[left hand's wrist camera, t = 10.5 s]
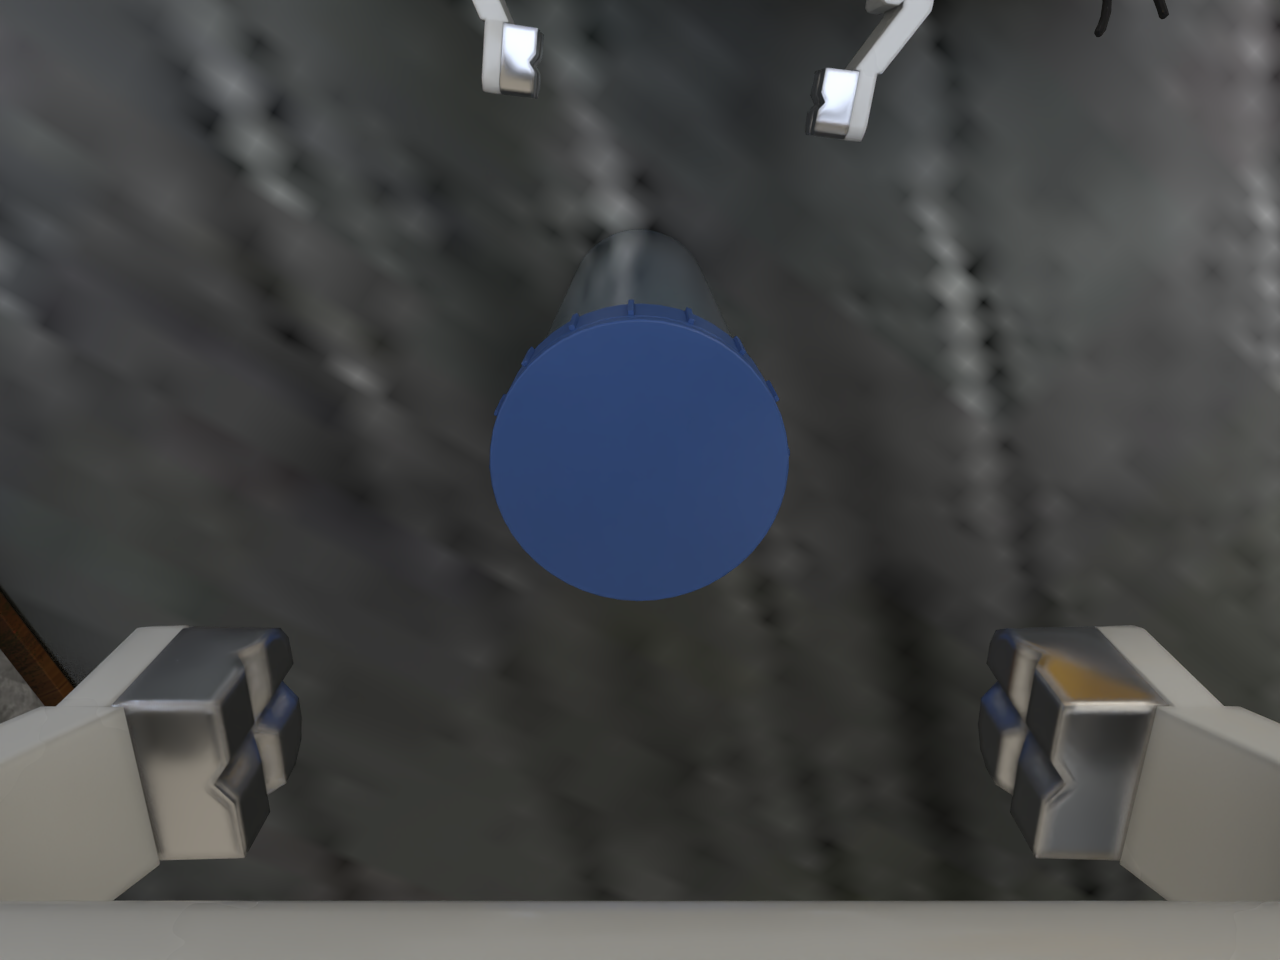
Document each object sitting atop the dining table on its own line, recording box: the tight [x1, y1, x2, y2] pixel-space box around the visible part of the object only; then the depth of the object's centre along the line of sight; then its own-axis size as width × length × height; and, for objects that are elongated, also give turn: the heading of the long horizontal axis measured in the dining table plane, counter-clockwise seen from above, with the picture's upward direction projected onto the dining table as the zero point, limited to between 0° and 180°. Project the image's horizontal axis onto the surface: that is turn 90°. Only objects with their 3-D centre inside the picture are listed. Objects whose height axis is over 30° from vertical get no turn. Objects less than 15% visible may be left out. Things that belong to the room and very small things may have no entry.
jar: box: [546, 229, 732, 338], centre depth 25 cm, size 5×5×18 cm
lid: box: [489, 300, 790, 601], centre depth 17 cm, size 6×6×2 cm
